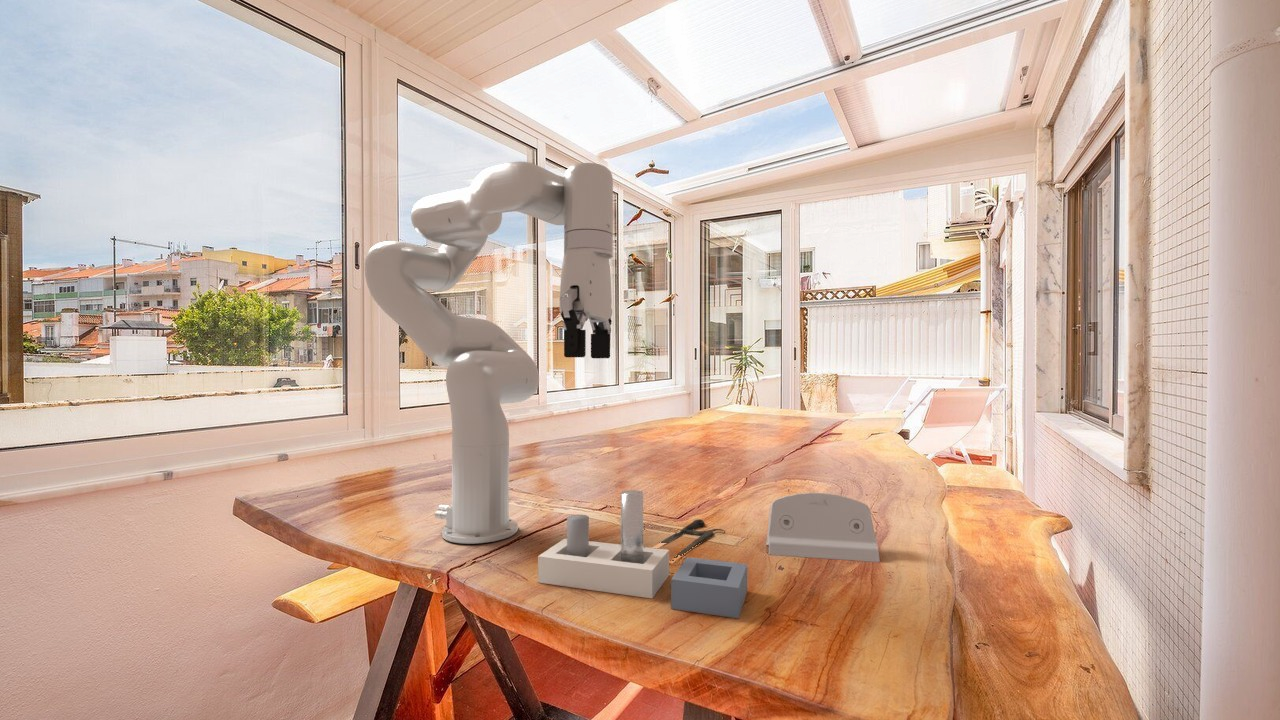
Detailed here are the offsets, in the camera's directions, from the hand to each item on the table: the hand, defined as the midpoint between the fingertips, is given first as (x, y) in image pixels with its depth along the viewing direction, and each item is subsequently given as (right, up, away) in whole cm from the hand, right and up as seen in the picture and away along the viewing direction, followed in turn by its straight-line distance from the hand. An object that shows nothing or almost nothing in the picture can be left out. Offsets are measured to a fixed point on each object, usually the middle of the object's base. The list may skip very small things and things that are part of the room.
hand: (588, 357), depth 84 cm
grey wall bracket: (+37, -31, +2) cm, 48 cm away
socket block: (+17, -30, -16) cm, 38 cm away
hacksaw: (+16, -31, +4) cm, 35 cm away
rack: (+3, -30, -10) cm, 32 cm away
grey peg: (+7, -30, -11) cm, 33 cm away
